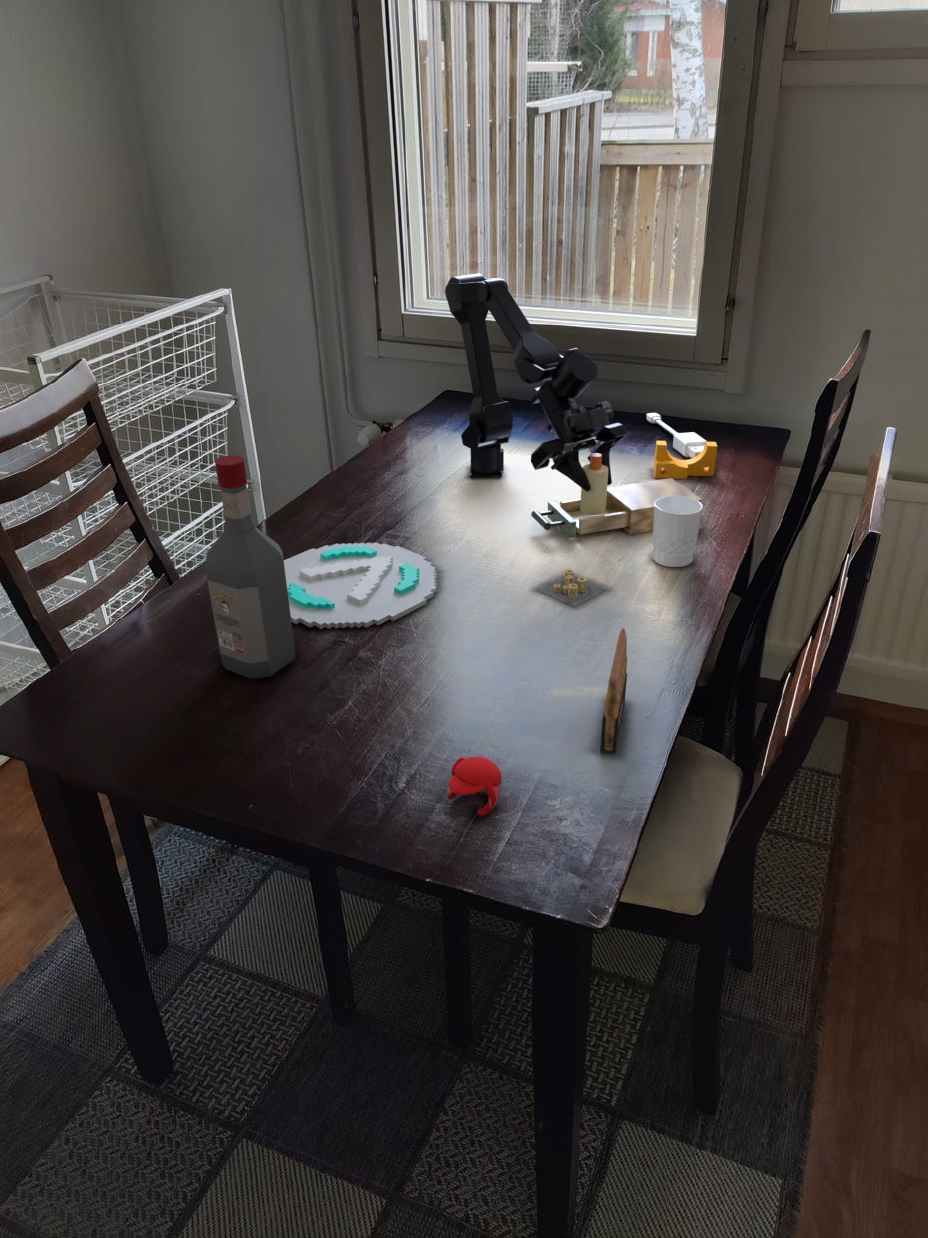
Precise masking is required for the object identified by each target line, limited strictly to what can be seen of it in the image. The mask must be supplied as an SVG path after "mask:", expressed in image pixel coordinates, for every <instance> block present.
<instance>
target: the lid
mask: <svg viewBox="0 0 928 1238" xmlns="http://www.w3.org/2000/svg"><path fill="white" fill-rule="evenodd" d="M283 560H284V567H285V575H286V583H287V591H288V599H289V607H290V615H291V623H292V624H295V625H298V624H300V623H301V624H302V625H305V626H306V627H309V628H312V627H317V628H318V629H319V630H322V629H324V628H325V629H328V630H329V629H331V628H334V629H338V628H342V629H345V628H347V627H348V628H350V629H352V628H354V627H356V628H358V629H360V628H361V627H364V628H366V629H367V628H369V627H370V626H372V625H376V626H380V625H381V624H383V623H385V622H388V621H389V620H390V621H391V622H394V621H397V620H398V619H400V618H402V617H404V616H406V615H408V614H409V613H411V612H414V611H415V610H417V609H419V608H421V607H423V606H425V605H427V601H428V600H430V599H432V598H434V594H435V593H437V592H438V577H437V575H438V574H437V573H438V571H437V567H435V566H434V563H433V562H431V561H428V560H427V557H426V556H424V555H421V554H419V553H416V552H414V551H411V550H410V549H407V548H404V547H401V546H399V545H395V546H392V545H390V544H387V543H386V542H384V543H381V544H380V543H378V542H377V541H375V542H369V541H368V542H366V543H364V542H360V543H358V542H354V543H351V542H349V543H344V542H343V543H340V544H339V543H334V544H331V545H328V544H326V545H323V546H320V547H319V548H310V549H307V550H305V551H303V552H300V553H298V554H296V555H293V556H291V557H289V558H287V559H283Z"/></svg>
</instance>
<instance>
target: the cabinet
mask: <svg viewBox="0 0 928 1238" xmlns="http://www.w3.org/2000/svg"><path fill="white" fill-rule="evenodd" d="M607 494H609V495H610V496H611V497H612V498H614V499H615V500H616V501H617V502H619V503H620V504H621V505H622V506H624V507H625V508H626V509H627V510H628V511H630V523H629V527H623V528H622V529H623V530H624V531H626V532H627V533H628V534H629V535H633V534H640V533H645V532H653V518H654V502H655V501H656V500H657V499H659V498H661V497H665V496H685V497H690V498H693V499H695V500H697V501H699V502H700V503H701V504H702V503H703V498H701V497H699V496H698V495H697V494H695V493H693V492H692V491H691V490H689V489H688V488H686V487H685V486H683V485H682V484H681V483H679V482H678V481H676V480H675V479H674V478H660V479H656V480H650V481H641V482H635V483H629V484H622V485H616V486H615V485H614V486H607Z"/></svg>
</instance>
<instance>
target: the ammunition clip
mask: <svg viewBox="0 0 928 1238" xmlns="http://www.w3.org/2000/svg"><path fill="white" fill-rule="evenodd" d="M615 646H616V647H615V652H614V655H613V660H612V665H611V669H610V674H609V678H608V685H607V691H606V694H605V699H604V701H605V702H604V710H603V714H602V722H601V734H600V745H599V746H600V749H599V751H600V752H601V753H609V754H615V755H616V751H617V747H618V742H619V737H620V731H621V725H622V722H623V721H622V720H623V715H624V710H625V705H626V695H627V694H626V693H627V681H628V673H627V670H628V669H627V668H628V654H627V653H628V652H627V651H628V648H627V647H628V638H627V633H626V630H625V628H621V630H620V632H619V634H618V638H617V642H616V645H615Z"/></svg>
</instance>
